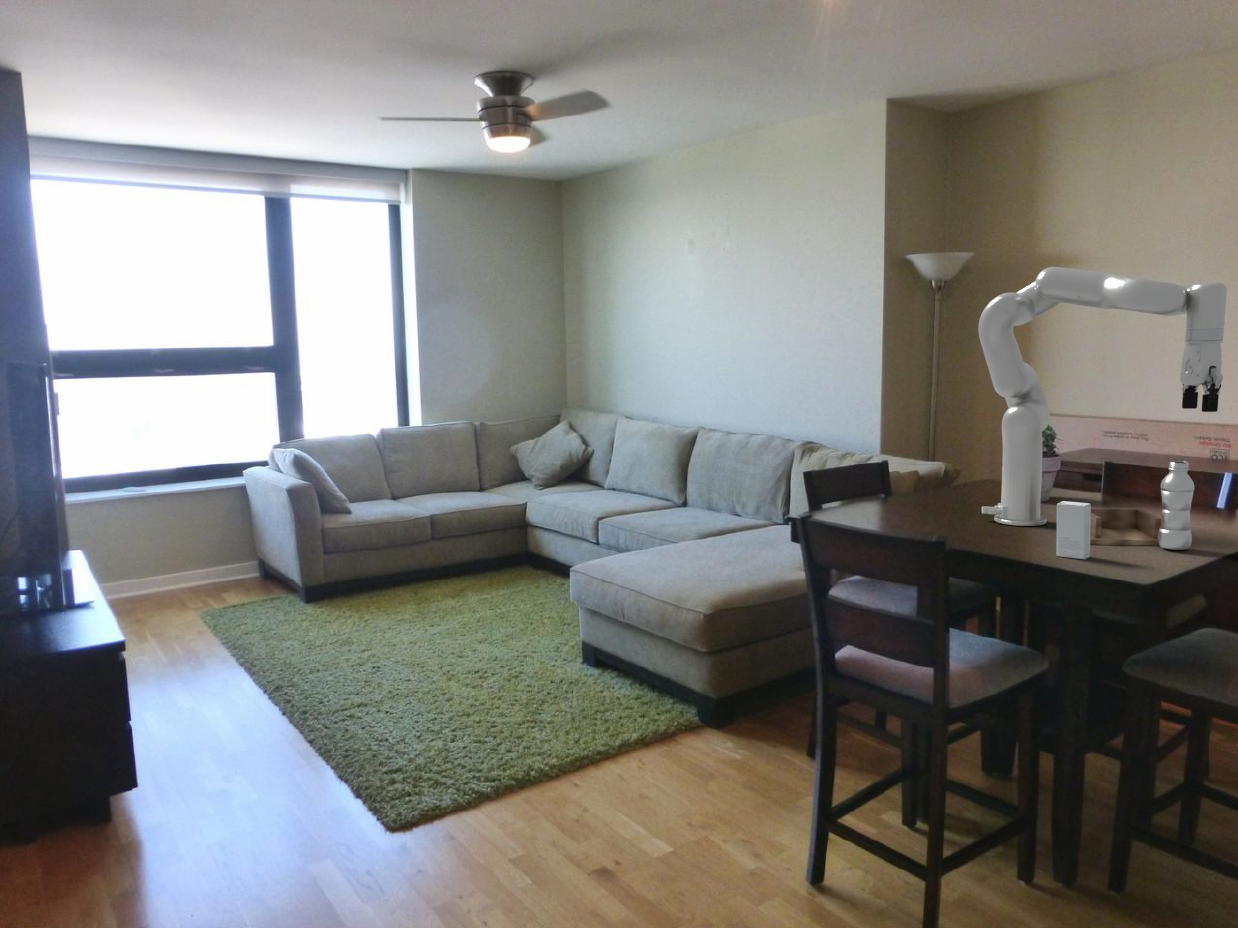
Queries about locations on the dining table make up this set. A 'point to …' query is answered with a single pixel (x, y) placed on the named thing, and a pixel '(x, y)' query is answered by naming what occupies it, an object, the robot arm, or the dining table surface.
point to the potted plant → (1049, 462)
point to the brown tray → (1123, 527)
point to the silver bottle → (1176, 507)
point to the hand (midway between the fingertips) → (1199, 410)
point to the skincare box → (1073, 529)
